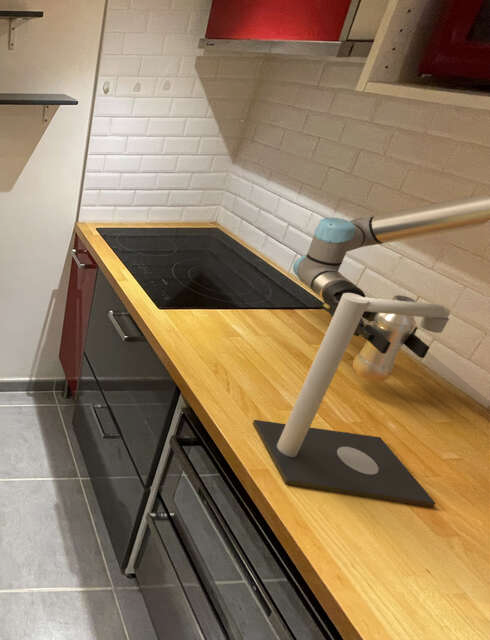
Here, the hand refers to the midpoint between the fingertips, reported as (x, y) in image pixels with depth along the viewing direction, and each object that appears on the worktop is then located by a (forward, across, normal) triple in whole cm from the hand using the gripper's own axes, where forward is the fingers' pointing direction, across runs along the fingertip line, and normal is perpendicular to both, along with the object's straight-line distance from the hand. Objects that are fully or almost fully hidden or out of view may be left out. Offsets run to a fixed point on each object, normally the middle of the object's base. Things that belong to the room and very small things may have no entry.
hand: (405, 350), depth 91 cm
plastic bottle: (-5, 0, -11) cm, 12 cm away
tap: (+18, +18, -15) cm, 29 cm away
